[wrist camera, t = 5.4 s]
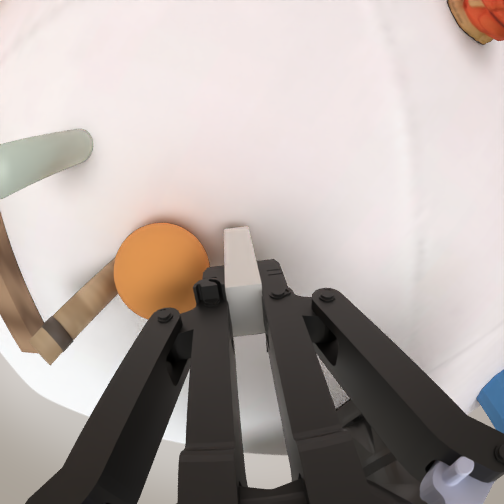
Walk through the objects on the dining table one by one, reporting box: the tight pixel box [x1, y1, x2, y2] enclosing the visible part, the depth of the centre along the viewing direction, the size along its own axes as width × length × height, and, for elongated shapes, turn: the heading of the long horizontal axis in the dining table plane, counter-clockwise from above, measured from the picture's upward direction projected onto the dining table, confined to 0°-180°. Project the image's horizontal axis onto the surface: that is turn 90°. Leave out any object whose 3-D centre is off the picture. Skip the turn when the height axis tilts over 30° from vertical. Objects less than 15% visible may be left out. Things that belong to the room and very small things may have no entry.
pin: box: [29, 257, 118, 365], centre depth 16 cm, size 2×2×9 cm
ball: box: [114, 223, 210, 320], centre depth 17 cm, size 6×6×6 cm
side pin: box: [0, 129, 93, 199], centre depth 12 cm, size 2×2×8 cm
